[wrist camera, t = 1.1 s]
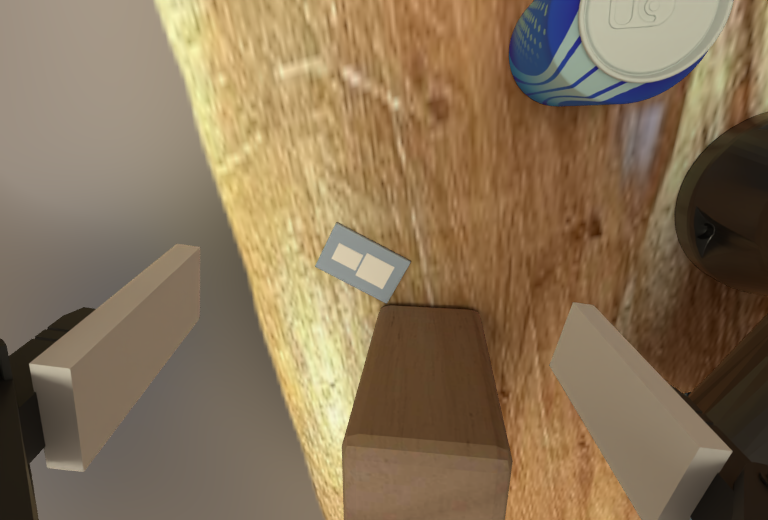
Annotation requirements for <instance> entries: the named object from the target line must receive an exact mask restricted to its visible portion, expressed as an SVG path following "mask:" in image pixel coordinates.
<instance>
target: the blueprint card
mask: <svg viewBox="0 0 768 520" xmlns="http://www.w3.org/2000/svg"><path fill="white" fill-rule="evenodd" d="M410 263H411V261H410V260H408V259H406V258H404V257H402V256H400V255H399V254H397V253H395V252H393V251H391V250H389V249H387V248H385V247H383V246H381V245H379V244H378V243H376V242H374V241H372V240H370V239H368V238H366V237H364V236H362V235H360V234H359V233H357V232H355V231H353V230H351V229H349V228H347V227H345V226H343V225H341V224H339V223H338V222H337V223H336V224H335V226H334V228H333V230H332V233H331V235H330V237H329V239H328V241H327V243H326V245H325V247H324V249H323V251H322V253H321V255H320V257H319V259H318V261H317V263H316V265H315V267H317V268H319V269H321V270H322V271H324V272H326V273H328V274H330V275H332V276H334V277H336V278H338V279H340V280H342V281H344V282H346V283H348V284H350V285H351V286H353V287H355V288H357V289H359V290H361V291H363V292H365V293H367V294H369V295H371V296H373V297H375V298H377V299H379V300H380V301H382V302H384V303H386V304H387V303H388V301H389V299H390V297H391V296H392V294H393V292H394V290H395V289H396V287H397V285H398V283H399V282H400V280H401V278H402V276H403V275H404V273H405V271H406V270H407V268H408V266H409V264H410Z"/></svg>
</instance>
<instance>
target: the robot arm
mask: <svg viewBox="0 0 768 520" xmlns="http://www.w3.org/2000/svg"><path fill="white" fill-rule="evenodd" d="M675 224H676V231H677V236H678V239H679V242H680V244H681V247H682V249H683V250H684V252H685V254H686V255H687V257H688V258H689V259H690V260H691V262H692V263H693V264H694V265H695V266H696V267H698V268H699V269H700V270H701V271H703V272H704V273H706V274H708V275H709V276H711V277H713V278H714V279H716V280H718V281H719V282H721V283H723V284H725V285H727V286H729V287H732V288H734V289H737V290H740V291H744V292H748V293H753V294H760V295H767V296H768V112H766V113H763V114H760V115H757V116H754V117H752V118H750V119H748V120H746V121H744V122H742V123H740V124H738V125H736V126H734V127H733V128H731V129H730V130H728V131H727V132H725V133H724V134H723V135H721V136H720V137H719V138H718V139H716V140H715V141H714V142H713V143H712V144H711V145H710V146H709V147H708V148H707V149H706V150H705V151H704V152H703V153H702V154H701V155H700V156H699V158H698V159H697V160H696V162H695V163H694V164H693V166H692V167H691V169H690V170H689V172H688V174H687V176H686V178H685V180H684V182H683V184H682V186H681V189H680V192H679V195H678V199H677V204H676V211H675ZM199 318H200V247H195V246H189V245H181V244H176V245H175V246H174V247H172V248H171V249H170V250H169V251H167V252H166V253H165V254H164V255H163V256H161V257H160V258H159V259H157V260H156V261H155V262H154V263H153V264H151V265H150V266H149V267H148V268H146V269H145V270H144V271H143V272H142V273H140V274H139V275H138V276H137V277H135V278H134V279H133V280H132V281H130V282H129V283H128V284H127V285H125V286H124V287H123V288H122V289H121V290H119V291H118V292H117V293H116V294H114V295H113V296H112V297H111V298H109V299H108V300H107V301H106V302H105V303H103V304H102V305H101V306H100V307H98V308H97V309H92V308H85V307H83V308H81V309H79V310H76V311H74V312H71V313H69V314H66V315H64V316H62V317H61V318H60V319H58V320H57V321H56V322H54V323H53V324H51V325H50V326H49V327H48V329H47V330H43V331H42V332H41V333H39V334H38V335H37V336H35V339H31V340H30V341H29V342H27V343H26V344H25V345H23V346H22V347H21V348H19V349H18V350H17V351H15V352H14V353H13V354H11V355H10V356H8V351H7V346H6V344H5V343H4V341H3V340H2V339H0V520H39V519H38V513H37V506H36V500H35V494H34V487H33V480H32V474H31V469H30V462H31V461H32V460H33V459H34V458H35V457H36V456H37V455H38V454H39V453H40V451H41V450H42V449H43V448H44V452H45V458H46V464H47V468H53V469H62V470H71V471H81V472H84V471H85V470H86V468H87V467H88V466H89V464H90V463H91V462H92V460H93V459H94V458H95V456H96V455H97V454H98V452H99V451H100V450H101V448H102V447H103V446H104V444H105V443H106V442H107V440H108V439H109V438H110V436H111V435H112V434H113V432H114V431H115V430H116V428H117V427H118V426H119V424H120V423H121V422H122V421H123V419H124V418H125V416H126V415H127V414H128V413H129V411H130V410H131V409H132V407H133V406H134V405H135V403H136V402H137V401H138V399H139V398H140V397H141V395H142V394H143V393H144V391H145V390H146V389H147V387H148V386H149V385H150V383H151V382H152V381H153V379H154V378H155V377H156V375H157V374H158V373H159V371H160V370H161V368H162V367H163V366H164V364H165V363H166V362H167V361H168V359H169V358H170V357H171V355H172V354H173V353H174V351H175V350H176V349H177V347H178V346H179V345H180V344H181V342H182V341H183V340H184V338H185V337H186V335H187V334H188V333H189V332H190V330H191V329H192V328H193V326H194V325H195V324H196V322H197V321H198V320H199ZM549 366H550V367H551V369H552V371H553V372H554V374H555V376H556V377H557V379H558V381H559V382H560V384H561V386H562V387H563V389H564V391H565V392H566V394H567V396H568V397H569V399H570V401H571V402H572V404H573V406H574V407H575V409H576V411H577V412H578V414H579V416H580V417H581V419H582V421H583V422H584V424H585V426H586V427H587V429H588V431H589V433H590V434H591V436H592V438H593V439H594V441H595V443H596V444H597V446H598V448H599V449H600V451H601V453H602V454H603V456H604V458H605V459H606V461H607V463H608V464H609V466H610V468H611V469H612V471H613V473H614V474H615V476H616V478H617V479H618V481H619V483H620V484H621V486H622V488H623V489H624V491H625V493H626V494H627V496H628V498H629V499H630V501H631V503H632V504H633V506H634V508H635V509H636V511H637V513H638V515H639V516H640V518H641V520H768V313H767V315H766V316H765V317H764V318H763V319H762V320H761V321H760V322H759V323H758V324H757V325H756V326H755V327H754V328H753V329H752V330H751V331H750V332H749V333H748V334H747V336H746V337H745V338H744V339H743V340H742V341H741V342H740V343H739V344H738V345H737V346H736V347H735V348H734V349H733V350H732V351H731V352H730V353H729V354H728V355H727V357H726V358H725V359H724V360H723V361H722V362H721V363H720V364H719V365H718V366H717V367H716V368H715V369H714V370H713V371H712V372H711V373H710V374H709V375H708V376H707V377H706V378H705V379H704V380H703V381H702V382H701V383H700V384H699V385H698V386H697V387H696V388H695V389H694V390H693V391H692V392H689V393H685V394H683V393H681V392H680V391H679V390H677V389H676V388H674V387H673V386H671V385H669V384H668V383H667V382H666V381H665V380H664V379H663V378H662V377H661V376H660V374H659V373H658V372H657V371H656V370H655V369H654V368H653V367H652V366H651V365H650V364H649V363H648V362H647V361H646V360H645V359H644V358H643V357H642V356H641V355H640V354H639V352H638V351H637V350H636V349H635V348H634V347H633V346H632V345H631V344H630V343H629V342H628V341H627V340H626V339H625V338H624V337H623V336H622V335H621V334H620V333H619V331H618V330H617V329H616V328H615V327H614V326H613V325H612V324H611V323H610V322H609V321H608V320H607V319H606V318H605V317H604V316H603V315H602V314H601V313H600V312H599V310H598V309H597V308H596V307H595V306H594V305H589V304H582V303H575V302H573V304H572V307H571V309H570V312H569V315H568V317H567V320H566V323H565V325H564V328H563V330H562V333H561V336H560V338H559V341H558V344H557V346H556V349H555V352H554V354H553V357H552V360H551V362H550V365H549Z"/></svg>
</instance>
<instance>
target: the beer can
mask: <svg viewBox="0 0 768 520" xmlns="http://www.w3.org/2000/svg"><path fill="white" fill-rule="evenodd" d="M733 1H734V0H534V1H533V2H532V3H531V5H530V6H529V7H528V8H527V9H526V10H525V12H524V13H523V14H522V16H521V17H520V19H519V20H518V22H517V24H516V26H515V28H514V31H513V34H512V37H511V41H510V47H509V62H510V68H511V72H512V75H513V77H514V79H515V81H516V83H517V85H518V86H519V88H520V89H521V90H522V91H523V92H524V93H525V94H526V95H527V96H528V97H530V98H531V99H533V100H534V101H536V102H539V103H541V104H544V105H549V106H582V105H609V104H627V103H634V102H639V101H642V100H645V99H649V98H651V97H654V96H656V95H658V94H660V93H662V92H664V91H666V90H668V89H669V88H671V87H673V86H674V85H675V84H677V83H678V82H680V81H681V80H682V79H683V78H684V77H686V76H687V75H688V74H689V73H690V72H691V71H692V70H693V69H694V68H695V67H696V66H697V64H698V63H699V62H700V61H701V60H702V58H703V57H704V56H705V54H706V53H707V52H708V50H709V48H710V47H711V46H712V45H713V44H714V42H715V41H716V40H717V38H718V37H719V35H720V33H721V32H722V30H723V28H724V26H725V24H726V22H727V20H728V17H729V15H730V12H731V9H732V5H733Z"/></svg>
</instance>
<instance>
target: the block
mask: <svg viewBox="0 0 768 520" xmlns="http://www.w3.org/2000/svg"><path fill="white" fill-rule="evenodd" d="M342 466H343V503H344V520H505V514H506V506H507V499H508V491H509V484H510V476H511V469H512V457H511V452H510V448H509V443H508V439H507V434H506V430H505V425H504V421H503V416H502V412H501V407H500V403H499V398H498V394H497V389H496V385H495V380H494V376H493V371H492V367H491V362H490V358H489V353H488V349H487V344H486V340H485V335H484V331H483V326H482V322H481V318H480V316H479V313H478V312H476V311H473V310H466V309H448V308H430V307H412V306H394V305H388V306H384V307H382V308H381V310H380V312H379V314H378V318H377V322H376V325H375V329H374V332H373V336H372V340H371V343H370V347H369V350H368V354H367V358H366V361H365V365H364V368H363V372H362V376H361V379H360V383H359V386H358V390H357V394H356V397H355V401H354V404H353V408H352V412H351V415H350V419H349V422H348V426H347V430H346V433H345V437H344V440H343V444H342Z"/></svg>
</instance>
